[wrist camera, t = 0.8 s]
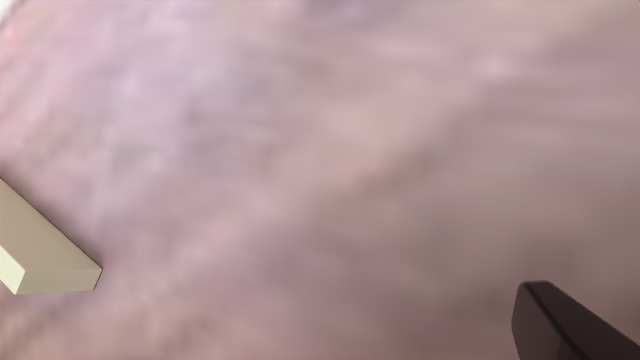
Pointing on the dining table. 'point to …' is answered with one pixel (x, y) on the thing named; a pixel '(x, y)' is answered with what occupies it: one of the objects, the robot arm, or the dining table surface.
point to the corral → (38, 252)
